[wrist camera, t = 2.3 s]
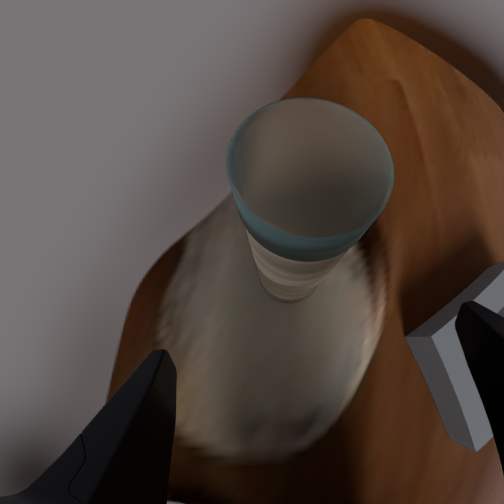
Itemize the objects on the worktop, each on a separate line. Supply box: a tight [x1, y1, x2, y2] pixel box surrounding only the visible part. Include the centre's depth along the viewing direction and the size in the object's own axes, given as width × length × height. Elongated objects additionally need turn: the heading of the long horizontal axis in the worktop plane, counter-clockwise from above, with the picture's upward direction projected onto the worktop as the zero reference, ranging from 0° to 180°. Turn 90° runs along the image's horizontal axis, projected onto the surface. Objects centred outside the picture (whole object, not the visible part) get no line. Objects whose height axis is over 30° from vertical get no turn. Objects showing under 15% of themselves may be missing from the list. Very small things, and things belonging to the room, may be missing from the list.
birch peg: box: [226, 98, 394, 303], centre depth 14 cm, size 4×4×14 cm
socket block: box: [405, 261, 504, 452], centre depth 15 cm, size 10×10×4 cm
